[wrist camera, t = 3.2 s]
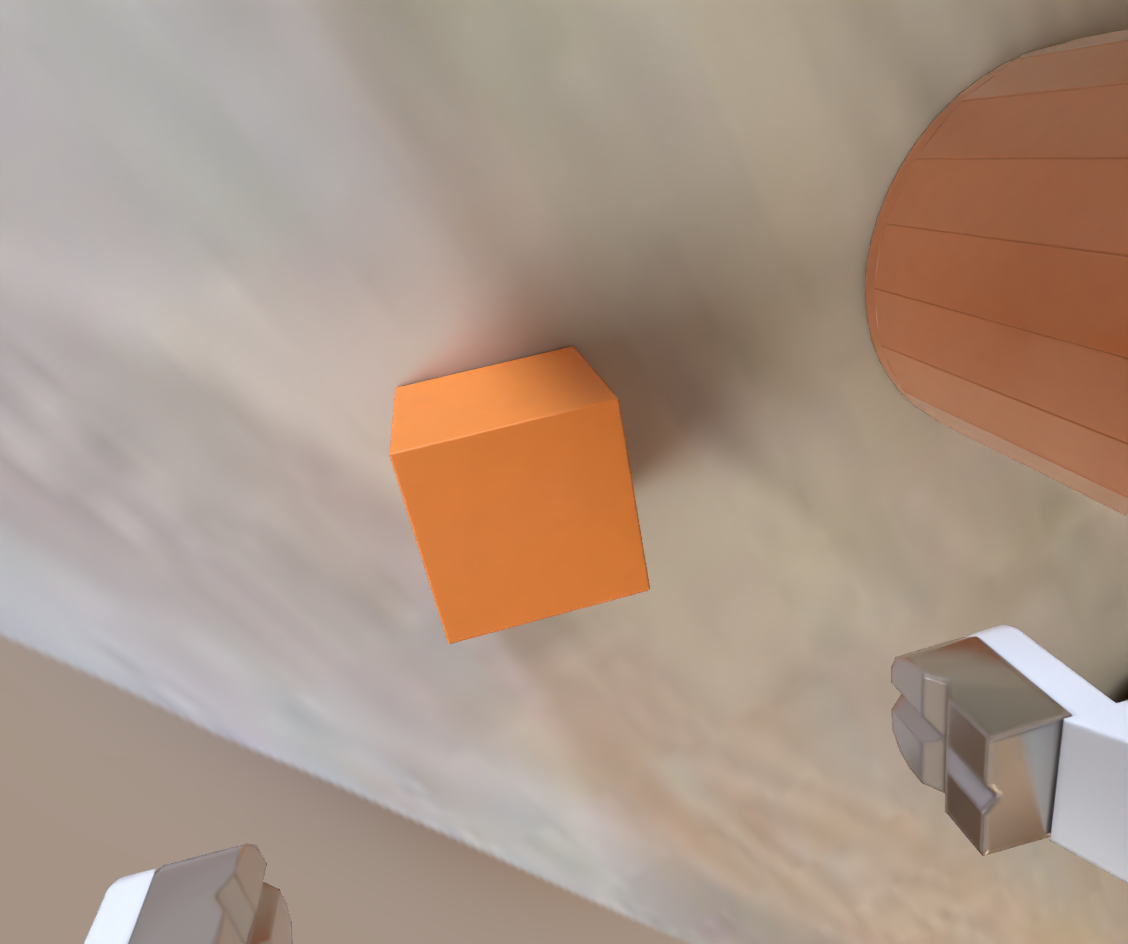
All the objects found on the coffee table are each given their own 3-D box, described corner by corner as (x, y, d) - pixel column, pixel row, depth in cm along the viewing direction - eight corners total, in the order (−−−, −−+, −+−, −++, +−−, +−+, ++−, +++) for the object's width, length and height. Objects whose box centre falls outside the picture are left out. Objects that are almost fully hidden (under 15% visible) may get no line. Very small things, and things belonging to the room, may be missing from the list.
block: (394, 387, 18) (388, 453, 14) (573, 345, 18) (618, 397, 14) (441, 545, 20) (448, 645, 16) (603, 504, 20) (651, 590, 16)
